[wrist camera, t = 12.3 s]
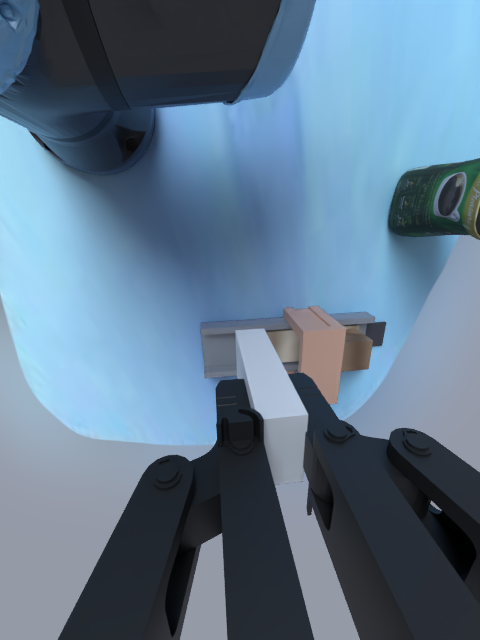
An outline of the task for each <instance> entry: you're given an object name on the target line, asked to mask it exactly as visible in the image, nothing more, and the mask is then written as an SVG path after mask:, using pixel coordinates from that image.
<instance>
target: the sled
mask: <svg viewBox="0 0 480 640" xmlns="http://www.w3.org/2000/svg"><path fill="white" fill-rule="evenodd" d="M342 326H344V327H345V328H346V336H345V344H344V352H343V360H342V368H341V371H352V370H364V369H368V368H369V362H370V356H371V350H372V344H373V340H371V339H370V338H369V337H367V336H366V335H365V334H363V333H362V332H360V331H359V325H358V324H351V325H342ZM266 333H267V335H268V337H269V339H270V341H271V343H272V345H273V347H274V349H275V351H276V353H277V355H278V357H279V358H280V360H281V362H282V363H284V362H296V361H299V348H300V338H299V337H298V336H297V334H296V333H295V332H294V330H293V329H280V330H266Z"/></svg>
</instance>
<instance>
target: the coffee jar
mask: <svg viewBox="0 0 480 640" xmlns="http://www.w3.org/2000/svg"><path fill="white" fill-rule="evenodd" d="M389 225H390V228H391V229H392V231H393V232H394V233H396V234H398V235H401V236H410V237H425V236H439V235H471V236H473V237H474V238H476V239H479V240H480V158H479V159H475V160H470V161H465V162H458V163H450V164H440V165H431V166H424V167H419V168H414V169H411V170H409V171H407V172H406V173H405V174H404V175H403V176H402V177H401V178H400V180H399V182H398V184H397V187H396V190H395V193H394V196H393V200H392V204H391V209H390V215H389Z"/></svg>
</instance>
